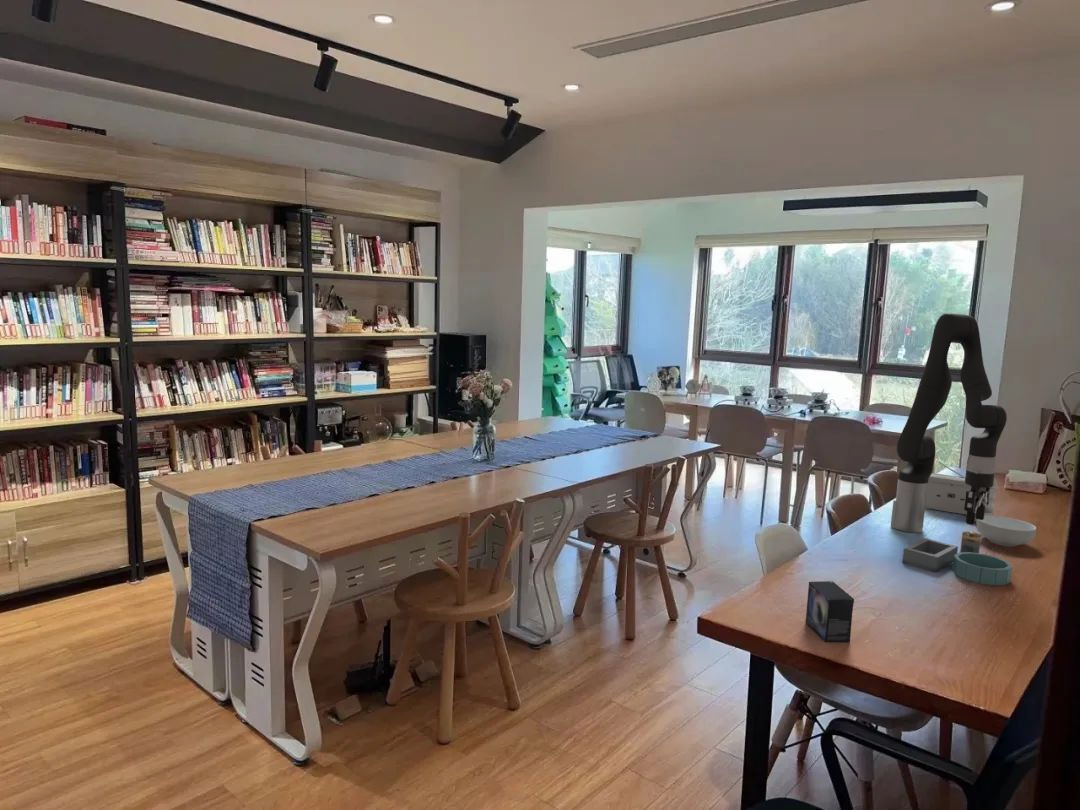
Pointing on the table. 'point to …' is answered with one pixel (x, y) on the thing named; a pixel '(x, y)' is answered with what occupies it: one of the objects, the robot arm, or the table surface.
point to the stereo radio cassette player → (947, 492)
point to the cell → (970, 542)
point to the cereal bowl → (1006, 530)
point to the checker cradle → (929, 554)
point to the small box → (829, 611)
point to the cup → (982, 568)
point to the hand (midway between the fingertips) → (974, 521)
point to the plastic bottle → (990, 501)
